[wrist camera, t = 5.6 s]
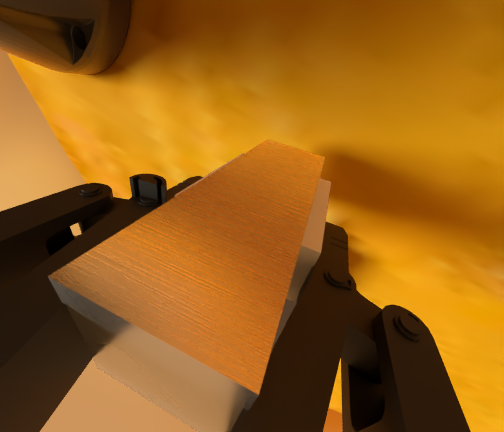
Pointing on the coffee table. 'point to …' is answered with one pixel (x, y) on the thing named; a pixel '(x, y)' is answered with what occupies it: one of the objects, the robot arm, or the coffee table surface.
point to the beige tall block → (198, 286)
